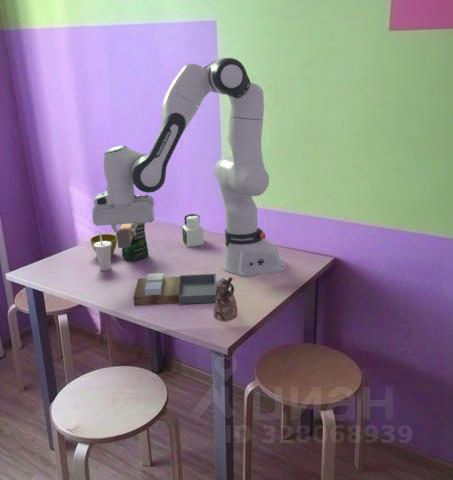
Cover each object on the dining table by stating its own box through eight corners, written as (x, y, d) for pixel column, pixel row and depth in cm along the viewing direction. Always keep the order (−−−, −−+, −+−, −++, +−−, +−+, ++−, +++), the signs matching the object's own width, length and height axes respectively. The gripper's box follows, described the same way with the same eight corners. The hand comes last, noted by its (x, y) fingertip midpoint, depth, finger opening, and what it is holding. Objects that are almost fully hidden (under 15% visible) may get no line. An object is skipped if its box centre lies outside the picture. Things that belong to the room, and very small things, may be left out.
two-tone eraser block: (134, 232, 184) (132, 220, 182) (129, 247, 171) (127, 234, 169) (124, 233, 184) (122, 221, 182) (118, 248, 171) (116, 234, 169)
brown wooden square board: (180, 284, 176) (180, 276, 175) (179, 303, 163) (178, 295, 162) (138, 286, 176) (138, 278, 175) (134, 305, 163) (133, 297, 162)
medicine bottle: (182, 241, 215) (181, 213, 211) (199, 239, 217) (198, 211, 213) (186, 247, 209) (185, 219, 205) (204, 245, 211) (202, 216, 206)
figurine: (209, 312, 157) (208, 276, 153) (231, 307, 160) (230, 271, 155) (219, 323, 151) (217, 285, 147) (241, 318, 153) (240, 281, 149)
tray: (216, 281, 178) (215, 273, 177) (217, 303, 163) (217, 294, 162) (180, 283, 177) (180, 275, 176) (179, 305, 162) (178, 296, 161)
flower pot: (123, 251, 207) (121, 234, 204) (111, 261, 197) (109, 243, 195) (100, 250, 209) (97, 233, 206) (87, 259, 200) (85, 242, 197)
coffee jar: (131, 263, 195) (126, 215, 189) (119, 258, 200) (114, 211, 194) (152, 255, 201) (148, 209, 195) (139, 250, 207) (135, 206, 200)
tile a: (163, 278, 174) (163, 273, 173) (162, 284, 169) (162, 279, 169) (148, 279, 174) (147, 273, 173) (147, 285, 169) (146, 280, 168)
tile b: (162, 287, 167) (161, 281, 167) (161, 294, 163) (160, 288, 162) (146, 288, 167) (146, 282, 167) (145, 295, 163) (144, 289, 162)
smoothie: (106, 263, 195) (102, 228, 190) (117, 267, 191) (114, 231, 187) (92, 269, 191) (88, 233, 186) (103, 273, 187) (99, 236, 182)
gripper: (153, 191, 175) (157, 230, 180) (92, 195, 174) (97, 234, 179) (152, 197, 169) (156, 236, 174) (88, 200, 168) (94, 240, 173)
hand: (126, 235), depth 177 cm, fingers closed on two-tone eraser block, 3 cm apart
